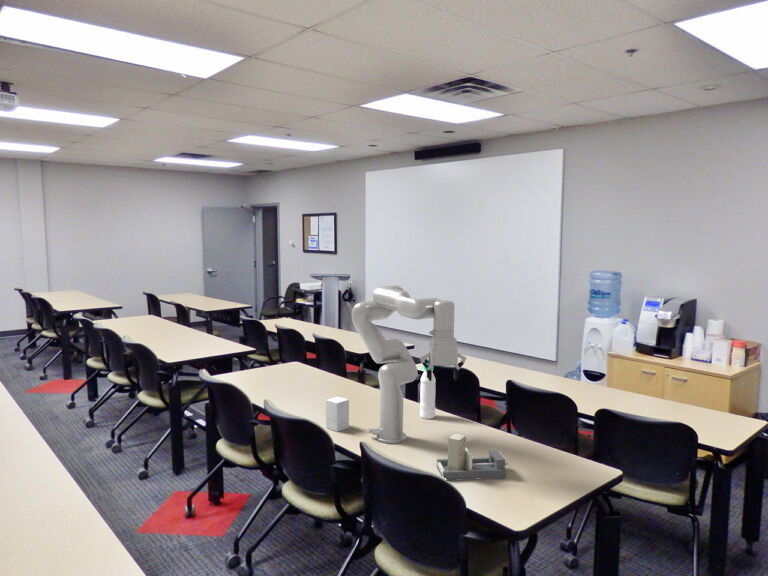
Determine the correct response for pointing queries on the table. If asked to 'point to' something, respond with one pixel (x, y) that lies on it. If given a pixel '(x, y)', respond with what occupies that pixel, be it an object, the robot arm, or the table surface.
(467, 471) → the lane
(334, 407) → the supplement box
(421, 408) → the water bottle
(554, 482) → the table surface
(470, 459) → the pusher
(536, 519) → the table surface
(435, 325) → the robot arm
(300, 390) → the table surface
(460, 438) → the skincare box
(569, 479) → the table surface
